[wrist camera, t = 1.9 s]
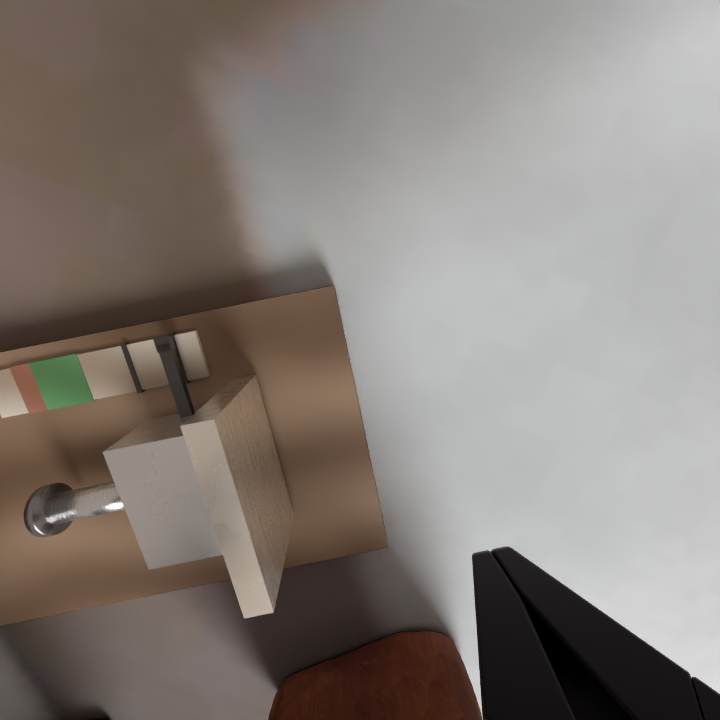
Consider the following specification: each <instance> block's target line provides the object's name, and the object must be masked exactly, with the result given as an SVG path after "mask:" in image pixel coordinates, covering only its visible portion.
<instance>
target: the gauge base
mask: <svg viewBox="0 0 720 720" xmlns="http://www.w3.org/2000/svg"><path fill="white" fill-rule="evenodd" d="M169 334H172V338H173V341H174V344H175V347H176V349H175V351H176V354H177V357H178V360H179V364H180V367H181V370H182V373H183V376H184V379H185V382H186V385H187V389H188V392H189V395H190V398H191V401H192V404H193V407H194V410H198V409H200V408H201V407H202V406H203V405H204V404H206V403H207V402H208V401H209V400H210V399H211V398H212V397H214V396H215V395H216V394H217V393H218V392H219V391H220V390H221V389H223V388H224V387H225V386H226V385H227V384H228V383H229V382H230V381H232V380H233V379H237V378H242V377H247V376H252V375H256V377H257V381H258V384H259V388H260V392H261V395H262V399H263V403H264V406H265V410H266V414H267V417H268V421H269V425H270V428H271V432H272V436H273V440H274V443H275V447H276V451H277V454H278V458H279V462H280V465H281V469H282V473H283V476H284V480H285V484H286V487H287V491H288V495H289V498H290V502H291V506H292V510H293V513H294V519H293V523H292V528H291V533H290V538H289V542H288V547H287V552H286V557H285V561H284V566H283V569H284V568H289V567H294V566H299V565H304V564H309V563H314V562H319V561H324V560H329V559H334V558H339V557H344V556H349V555H354V554H359V553H364V552H369V551H374V550H378V549H383V548H388V545H387V539H386V533H385V527H384V523H383V518H382V513H381V508H380V503H379V498H378V494H377V489H376V484H375V479H374V474H373V470H372V465H371V460H370V455H369V450H368V445H367V441H366V436H365V431H364V426H363V421H362V416H361V412H360V407H359V402H358V397H357V392H356V388H355V383H354V378H353V373H352V368H351V363H350V359H349V354H348V349H347V344H346V339H345V335H344V330H343V325H342V320H341V315H340V310H339V306H338V301H337V296H336V291H335V286H334V285H333V286H328V287H323V288H318V289H313V290H308V291H303V292H298V293H293V294H288V295H283V296H278V297H273V298H268V299H263V300H258V301H254V302H249V303H244V304H239V305H234V306H229V307H224V308H219V309H214V310H209V311H204V312H199V313H194V314H189V315H184V316H179V317H174V318H169V319H164V320H159V321H154V322H149V323H144V324H139V325H134V326H129V327H124V328H119V329H114V330H109V331H104V332H99V333H94V334H89V335H84V336H79V337H74V338H69V339H64V340H59V341H54V342H49V343H44V344H39V345H34V346H29V347H24V348H19V349H14V350H9V351H4V352H0V626H2V625H7V624H12V623H17V622H22V621H27V620H32V619H37V618H42V617H47V616H52V615H57V614H62V613H66V612H71V611H76V610H81V609H86V608H91V607H96V606H101V605H106V604H111V603H116V602H121V601H126V600H131V599H136V598H141V597H146V596H151V595H156V594H161V593H166V592H170V591H175V590H180V589H185V588H190V587H195V586H200V585H205V584H210V583H215V582H220V581H225V580H230V579H231V578H230V575H229V572H228V569H227V566H226V563H225V560H224V556H223V555H220V556H215V557H210V558H205V559H200V560H195V561H190V562H185V563H180V564H175V565H170V566H165V567H160V568H155V569H150V570H149V569H148V567H147V564H146V562H145V559H144V557H143V554H142V551H141V549H140V546H139V544H138V541H137V539H136V536H135V534H134V531H133V529H132V526H131V523H130V521H129V518H128V516H127V513H126V511H125V510H124V511H119V512H114V513H109V514H104V515H99V516H94V517H89V518H84V519H79V520H74V521H72V523H71V524H70V526H69V527H68V528H67V529H66V530H65V531H63V532H62V533H60V534H57V535H53V536H48V537H36V536H34V535H32V534H31V533H30V532H29V531H28V530H27V528H26V526H25V523H24V517H23V516H24V508H25V505H26V502H27V500H28V499H29V497H30V496H31V494H32V493H33V492H34V491H35V490H37V489H38V488H40V487H42V486H45V485H49V484H54V483H64V484H67V485H68V486H70V487H71V488H72V489H73V490H74V489H79V488H84V487H89V486H94V485H99V484H104V483H109V482H114V480H113V478H112V475H111V473H110V470H109V467H108V465H107V462H106V460H105V457H104V455H103V451H105V450H106V449H107V448H109V447H110V446H112V445H113V444H114V443H116V442H117V441H119V440H120V439H121V438H123V437H124V436H126V435H127V434H129V433H130V432H131V431H133V430H134V429H136V428H137V427H138V426H140V425H141V424H143V423H144V422H146V421H147V420H148V419H153V418H158V417H163V416H168V415H173V414H178V413H179V412H178V409H177V406H176V403H175V400H174V397H173V394H172V391H171V388H170V385H169V382H168V379H167V376H166V373H165V370H164V367H163V364H162V361H161V358H160V355H159V353H157V350H156V347H155V344H154V341H153V338H155V337H159V336H164V335H169Z"/></svg>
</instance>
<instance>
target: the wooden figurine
mask: <svg viewBox="0 0 720 720" xmlns="http://www.w3.org/2000/svg"><path fill="white" fill-rule="evenodd" d="M269 720H482V716H481V712H480V708H479V706H478V702H477V699H476V696H475V693H474V690H473V687H472V684H471V681H470V679H469V676H468V674H467V671H466V668H465V665H464V663H463V661H462V659H461V656H460V654H459V652H458V651H457V649H456V647H455V645H454V643H453V641H452V639H451V638H449V637H448V636H446V635H443V634H441V633H438V632H433V631H420V632H400V633H396V634H393V635H390V636H388V637H385V638H382V639H380V640H378V641H375V642H372V643H369V644H367V645H365V646H364V647H362V648H359V649H357V650H354V651H351V652H349V653H347V654H345V655H343V656H340V657H337V658H334V659H330V660H328V661H325V662H323V663H320V664H317V665H315V666H313V667H310V668H307V669H304V670H302V671H300V672H297V673H295V674H292V675H290V676H288V677H287V678H286V679H285V680H284V682H283V683H282V685H281V686H280V688H279V689H278V691H277V693H276V695H275V698H274V701H273V704H272V708H271V711H270V714H269Z"/></svg>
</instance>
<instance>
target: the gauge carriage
mask: <svg viewBox="0 0 720 720" xmlns="http://www.w3.org/2000/svg"><path fill="white" fill-rule="evenodd" d="M153 341H154V344H155V347H156V350H157V353H159V355H160V358H161V361H162V364H163V367H164V370H165V373H166V376H167V379H168V382H169V385H170V388H171V391H172V394H173V397H174V400H175V403H176V406H177V409H178V412H179V413H178V414H173V415H168V416H163V417H158V418H153V419H148V420H147V421H146V422H144V423H143V424H141V425H140V426H138V427H137V428H136V429H134V430H133V431H131V432H130V433H129V434H127V435H126V436H124V437H123V438H121V439H120V440H119V441H117V442H116V443H114V444H113V445H112V446H110V447H109V448H107V449H106V450H105V451H103V455H104V457H105V460H106V462H107V465H108V467H109V470H110V473H111V475H112V478H113V480H114V482H109V483H104V484H99V485H94V486H89V487H84V488H79V489H74V490H73V489H72V488H71V487H70V486H68V485H67V484H64V483H54V484H49V485H45V486H42V487H40V488H38V489H37V490H35V491H34V492H33V493H32V494H31V496H30V497H29V499H28V500H27V502H26V505H25V508H24V516H23V517H24V523H25V526H26V528H27V530H28V531H29V532H30V533H31V534H32V535H34V536H36V537H48V536H53V535H57V534H60V533H62V532H63V531H65V530H66V529H67V528H68V527H69V526H70V524H71V523H72V521H74V520H79V519H84V518H89V517H94V516H99V515H104V514H109V513H114V512H119V511H124V510H125V511H126V513H127V516H128V518H129V521H130V523H131V526H132V529H133V531H134V534H135V536H136V539H137V541H138V544H139V546H140V549H141V551H142V554H143V557H144V559H145V562H146V564H147V567H148V569H149V570H150V569H155V568H160V567H165V566H170V565H175V564H180V563H185V562H190V561H195V560H200V559H205V558H210V557H215V556H220V555H223V556H224V560H225V563H226V566H227V569H228V572H229V575H230V578H231V581H232V584H233V587H234V590H235V593H236V596H237V599H238V602H239V605H240V608H241V611H242V614H243V617H244V619H245V618H250V617H255V616H259V615H264V614H269V613H274V609H275V604H276V599H277V594H278V590H279V585H280V580H281V575H282V571H283V566H284V561H285V557H286V552H287V547H288V542H289V538H290V533H291V528H292V523H293V519H294V513H293V510H292V506H291V502H290V498H289V495H288V491H287V487H286V484H285V480H284V476H283V473H282V469H281V465H280V462H279V458H278V454H277V451H276V447H275V443H274V440H273V436H272V432H271V428H270V425H269V421H268V417H267V414H266V410H265V406H264V403H263V399H262V395H261V392H260V388H259V384H258V381H257V377H256V375H252V376H247V377H242V378H237V379H233V380H232V381H230V382H229V383H228V384H227V385H226V386H225V387H224V388H223V389H221V390H220V391H219V392H218V393H217V394H216V395H215V396H214V397H212V398H211V399H210V400H209V401H208V402H207V403H206V404H204V405H203V406H202V407H201V408H200V409H198V410H194V407H193V404H192V401H191V398H190V395H189V392H188V389H187V385H186V382H185V379H184V376H183V373H182V370H181V367H180V364H179V360H178V357H177V354H176V351H175V349H176V347H175V344H174V341H173V338H172V334H169V335H164V336H159V337H155V338H153Z"/></svg>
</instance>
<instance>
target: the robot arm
mask: <svg viewBox="0 0 720 720" xmlns="http://www.w3.org/2000/svg"><path fill="white" fill-rule="evenodd" d="M472 564H473V579H474V594H475V609H476V624H477V639H478V654H479V670H480V685H481V700H482V715H483V720H720V694H719V693H717V692H716V691H715V690H713V689H712V688H710V687H709V686H708V685H706V684H705V683H703V682H702V681H700V680H699V679H698V678H696V677H692V678H691V676H690V674H689V672H687V671H686V670H684V669H683V668H682V667H680V666H679V665H677V664H676V663H674V662H673V661H672V660H670V659H669V658H667V657H666V656H665V655H663V654H662V653H660V652H659V651H657V650H656V649H655V648H653V647H652V646H650V645H649V644H647V643H646V642H645V641H643V640H642V639H640V638H639V637H637V636H636V635H635V634H633V633H632V632H630V631H629V630H628V629H626V628H625V627H623V626H622V625H620V624H619V623H618V622H616V621H615V620H613V619H612V618H610V617H609V616H608V615H606V614H605V613H603V612H602V611H600V610H599V609H598V608H596V607H595V606H593V605H592V604H591V603H589V602H588V601H586V600H585V599H583V598H582V597H581V596H579V595H578V594H576V593H575V592H573V591H572V590H571V589H569V588H568V587H566V586H565V585H563V584H562V583H561V582H559V581H558V580H556V579H555V578H554V577H552V576H551V575H549V574H548V573H546V572H545V571H544V570H542V569H541V568H539V567H538V566H536V565H535V564H534V563H532V562H531V561H529V560H528V559H526V558H525V557H524V556H522V555H521V554H519V553H518V552H517V551H515V550H514V549H512V548H511V547H501V548H496V549H493V550H492V551H491V552H490V551H488V550H487V551H482V552H477V553H473V555H472ZM98 720H102V719H98Z"/></svg>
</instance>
